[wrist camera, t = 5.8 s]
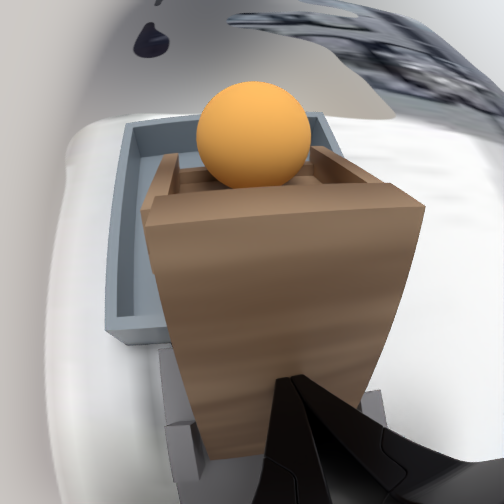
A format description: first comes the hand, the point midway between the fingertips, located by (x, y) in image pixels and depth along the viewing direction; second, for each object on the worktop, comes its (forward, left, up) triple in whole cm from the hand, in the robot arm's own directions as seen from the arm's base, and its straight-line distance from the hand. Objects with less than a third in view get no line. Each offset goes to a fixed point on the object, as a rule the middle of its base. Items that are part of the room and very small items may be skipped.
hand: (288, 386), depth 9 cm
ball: (+8, 0, +2) cm, 8 cm away
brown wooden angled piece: (0, 0, -7) cm, 7 cm away
